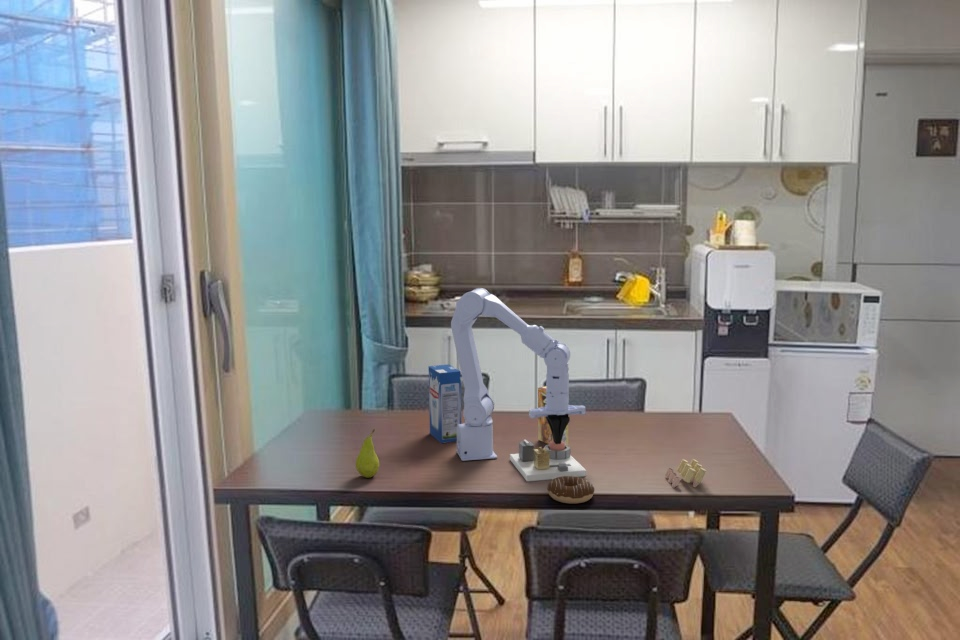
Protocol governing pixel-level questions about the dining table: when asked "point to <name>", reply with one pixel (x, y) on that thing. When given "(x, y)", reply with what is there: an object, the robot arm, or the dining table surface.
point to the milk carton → (444, 402)
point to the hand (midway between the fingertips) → (557, 442)
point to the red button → (556, 446)
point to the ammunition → (686, 473)
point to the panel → (550, 466)
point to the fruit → (367, 459)
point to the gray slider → (526, 451)
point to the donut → (570, 489)
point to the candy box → (543, 425)
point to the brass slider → (541, 458)
